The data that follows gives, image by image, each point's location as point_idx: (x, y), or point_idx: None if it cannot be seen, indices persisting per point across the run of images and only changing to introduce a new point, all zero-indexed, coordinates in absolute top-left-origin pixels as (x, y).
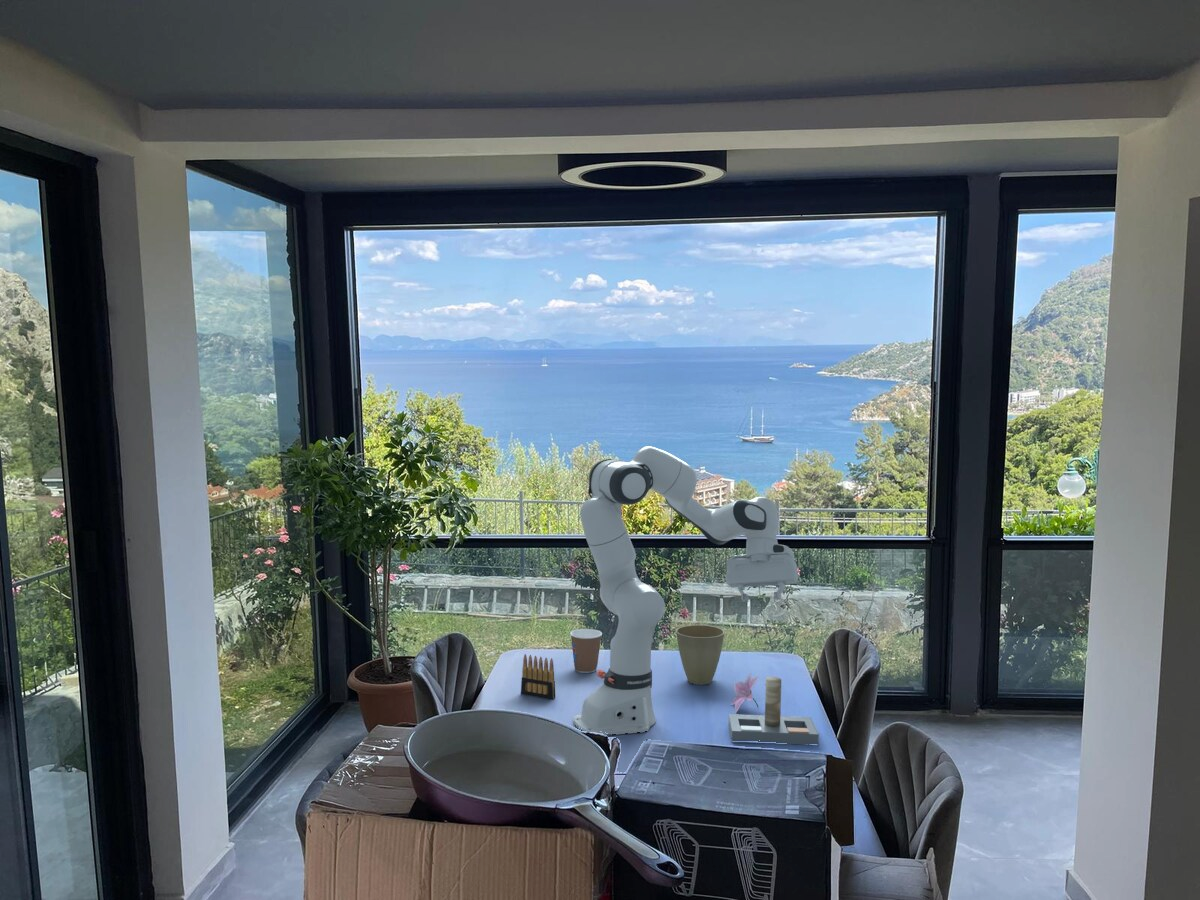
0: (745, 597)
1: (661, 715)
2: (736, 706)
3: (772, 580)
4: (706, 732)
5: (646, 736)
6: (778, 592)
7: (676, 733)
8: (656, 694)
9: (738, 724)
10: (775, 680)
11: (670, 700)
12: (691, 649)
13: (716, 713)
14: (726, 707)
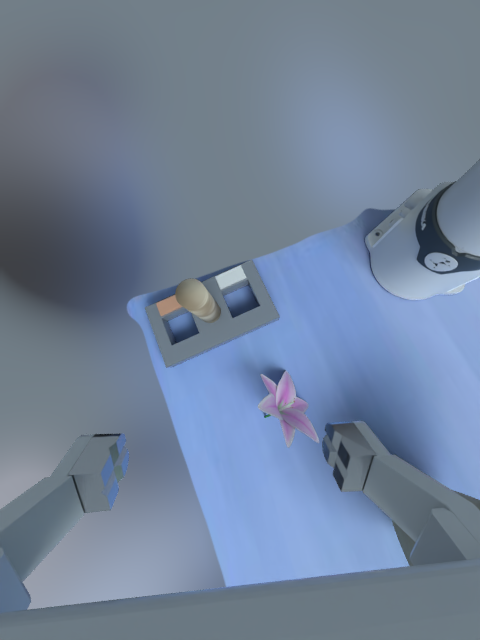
0: (339, 431)
1: (380, 304)
2: (290, 382)
3: (18, 615)
4: (294, 279)
5: (357, 227)
6: (62, 466)
7: (328, 256)
8: (440, 389)
9: (252, 285)
10: (185, 287)
11: (403, 373)
12: (474, 502)
13: (311, 354)
14: (308, 388)
